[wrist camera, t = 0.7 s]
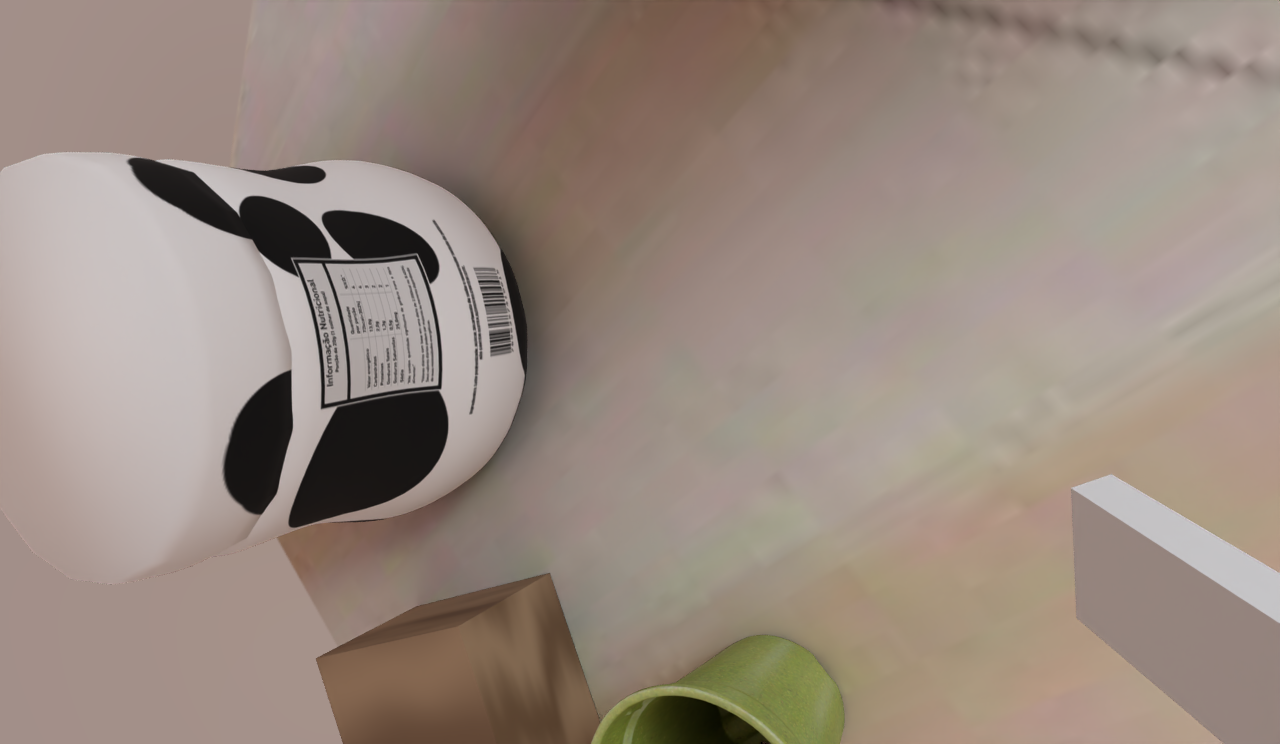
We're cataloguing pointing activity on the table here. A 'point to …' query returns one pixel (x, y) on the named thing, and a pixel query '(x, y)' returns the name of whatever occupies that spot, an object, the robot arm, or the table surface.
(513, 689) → the walnut block
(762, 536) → the table surface
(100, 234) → the milk container
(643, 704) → the plant pot
